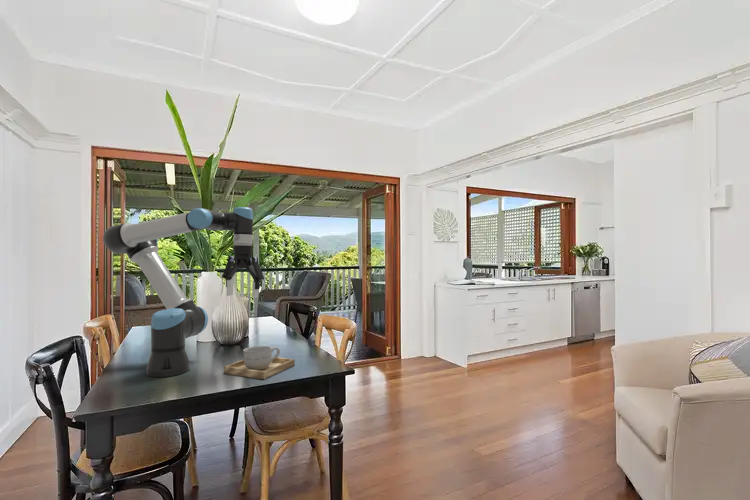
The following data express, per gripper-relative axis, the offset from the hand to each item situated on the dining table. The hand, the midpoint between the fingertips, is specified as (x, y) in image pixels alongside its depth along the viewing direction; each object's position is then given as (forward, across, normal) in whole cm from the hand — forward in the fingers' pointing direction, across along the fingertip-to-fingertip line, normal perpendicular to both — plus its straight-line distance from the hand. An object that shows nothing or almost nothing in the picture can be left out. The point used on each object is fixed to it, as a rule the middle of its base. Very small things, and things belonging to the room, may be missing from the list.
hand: (242, 296), depth 166 cm
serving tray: (+28, +12, -3) cm, 30 cm away
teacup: (+27, +13, -3) cm, 30 cm away
